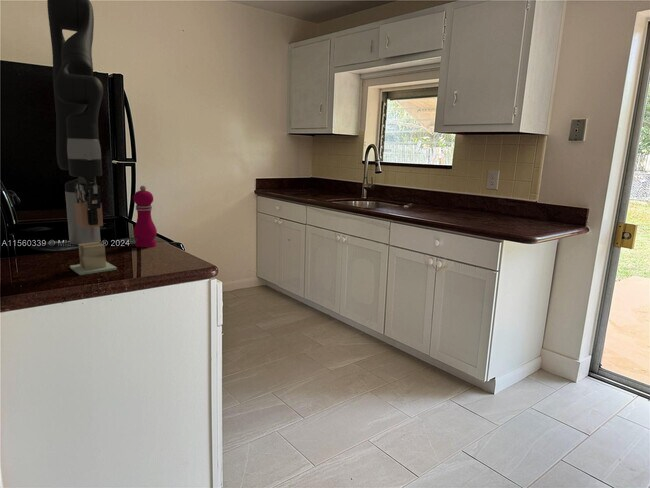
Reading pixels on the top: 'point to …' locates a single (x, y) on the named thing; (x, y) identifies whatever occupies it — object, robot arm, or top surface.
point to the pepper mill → (144, 219)
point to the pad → (82, 271)
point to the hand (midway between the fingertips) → (89, 222)
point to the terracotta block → (86, 215)
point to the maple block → (92, 255)
